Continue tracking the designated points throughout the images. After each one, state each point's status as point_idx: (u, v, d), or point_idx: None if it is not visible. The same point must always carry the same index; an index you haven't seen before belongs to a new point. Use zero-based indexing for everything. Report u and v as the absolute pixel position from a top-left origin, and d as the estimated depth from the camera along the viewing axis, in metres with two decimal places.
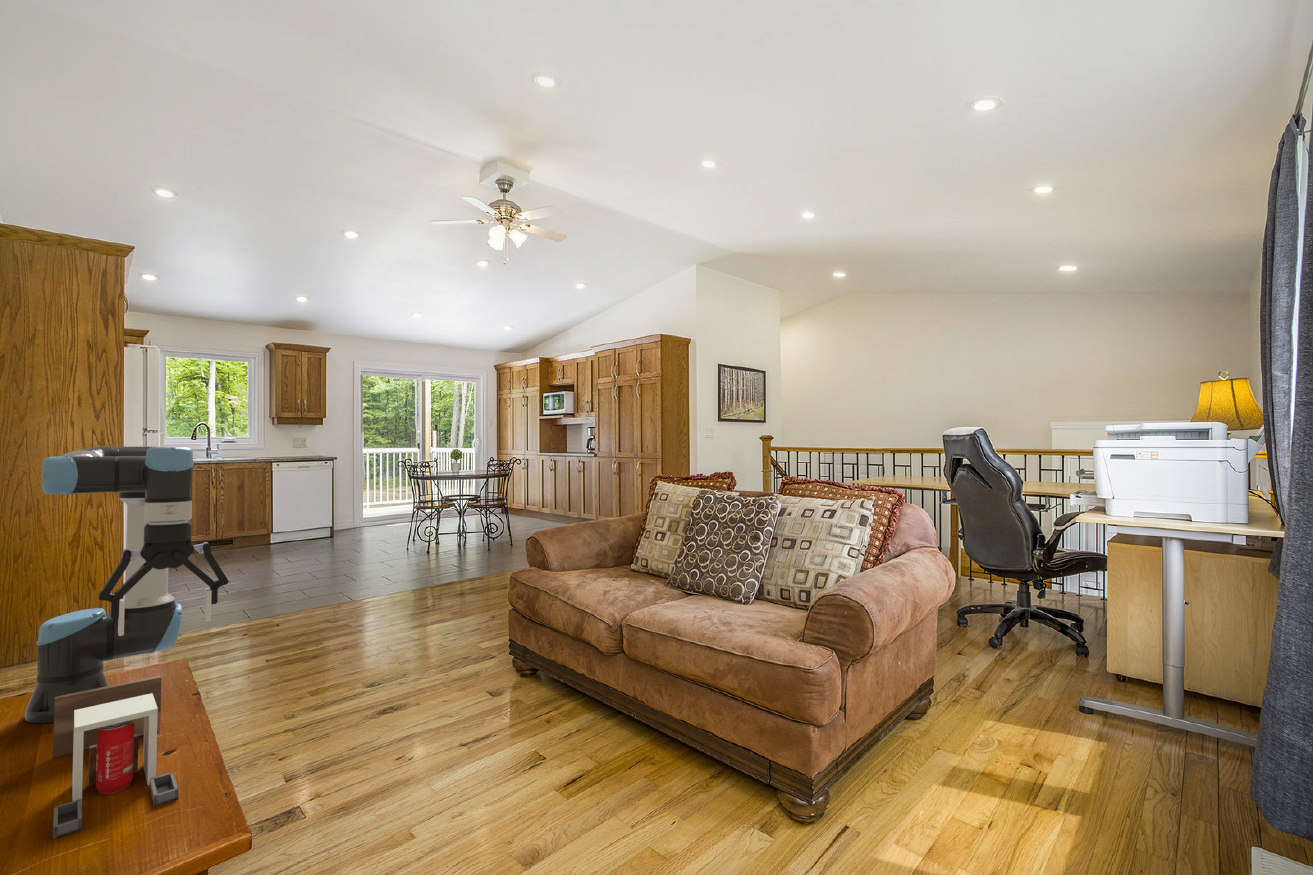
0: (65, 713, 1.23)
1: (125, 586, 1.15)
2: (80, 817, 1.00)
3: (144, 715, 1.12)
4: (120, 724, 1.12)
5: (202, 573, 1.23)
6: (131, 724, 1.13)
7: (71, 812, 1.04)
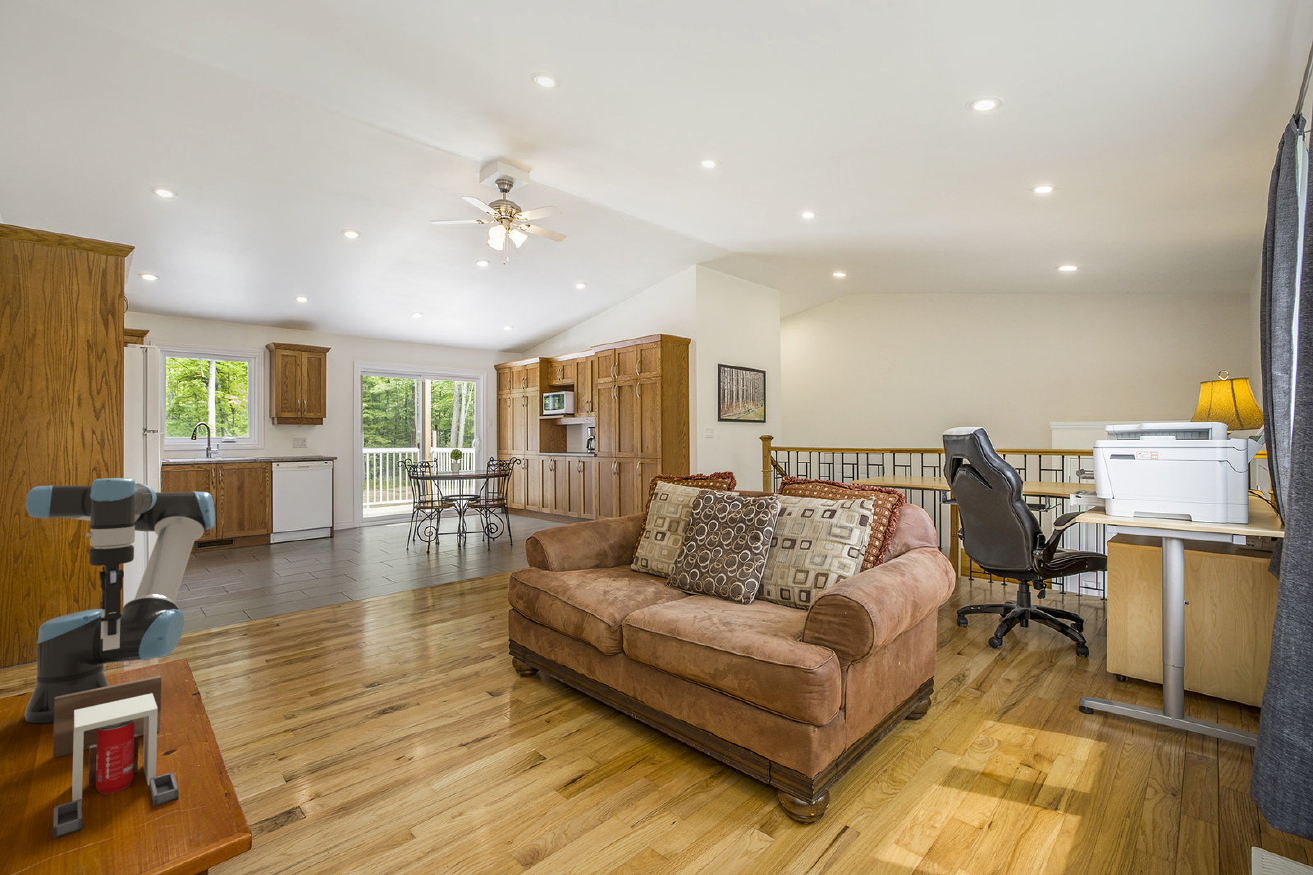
0: (65, 713, 1.23)
1: None
2: (80, 817, 1.00)
3: (144, 715, 1.12)
4: (120, 724, 1.12)
5: None
6: (131, 724, 1.13)
7: (71, 812, 1.04)
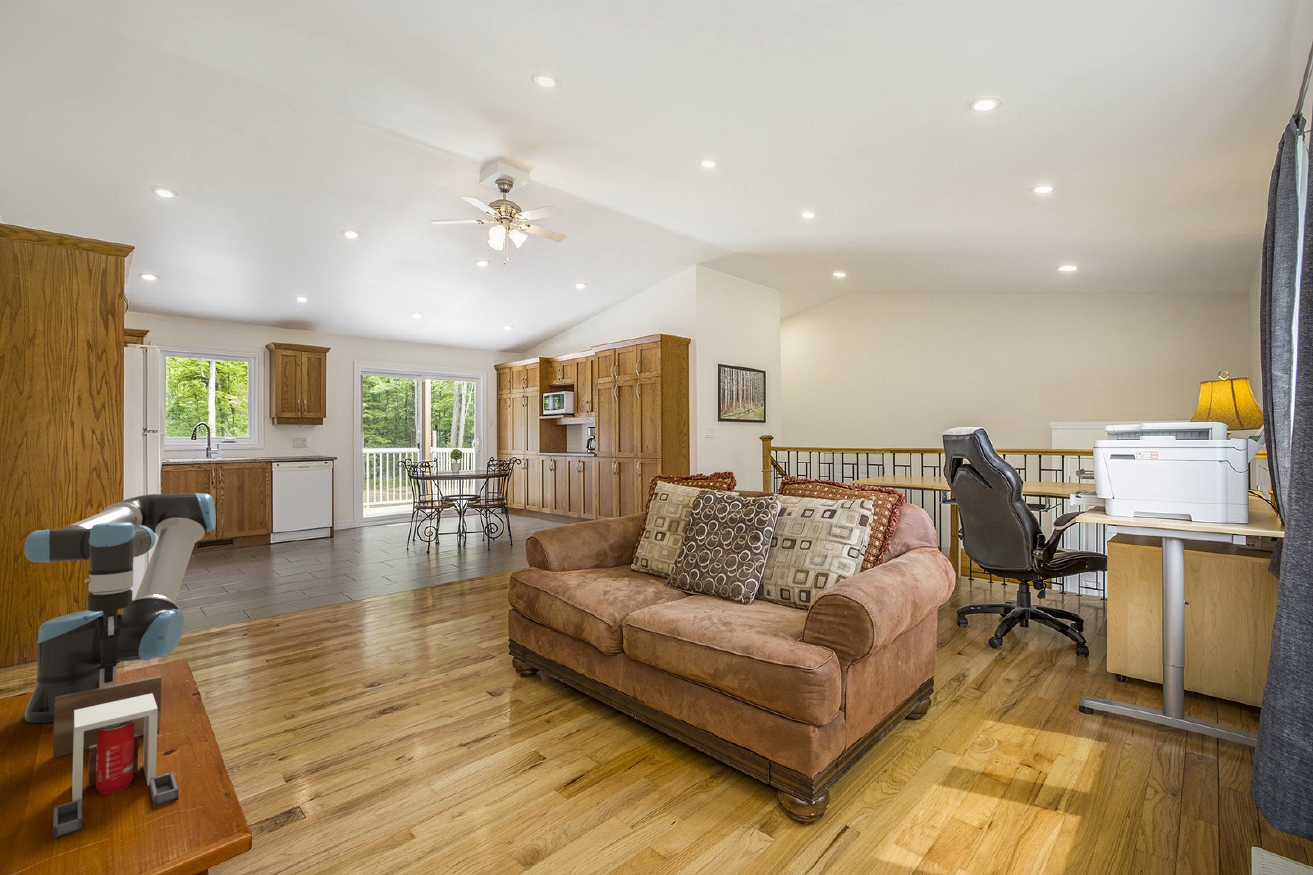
0: (65, 713, 1.23)
1: None
2: (80, 817, 1.00)
3: (144, 715, 1.12)
4: (120, 724, 1.12)
5: (102, 649, 1.32)
6: (131, 724, 1.13)
7: (71, 812, 1.04)
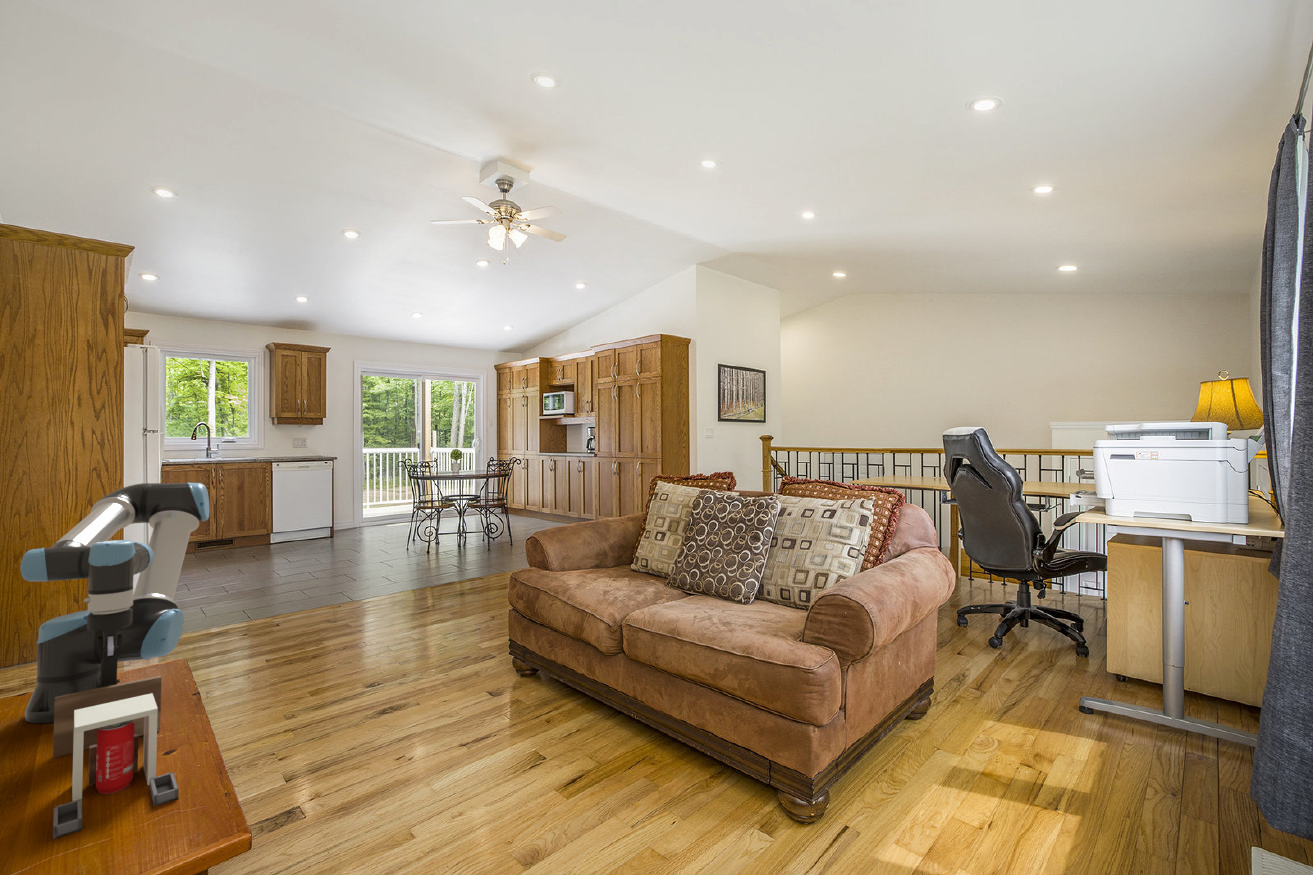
0: (65, 713, 1.23)
1: None
2: (80, 817, 1.00)
3: (144, 715, 1.12)
4: (120, 724, 1.12)
5: None
6: (131, 724, 1.13)
7: (71, 812, 1.04)
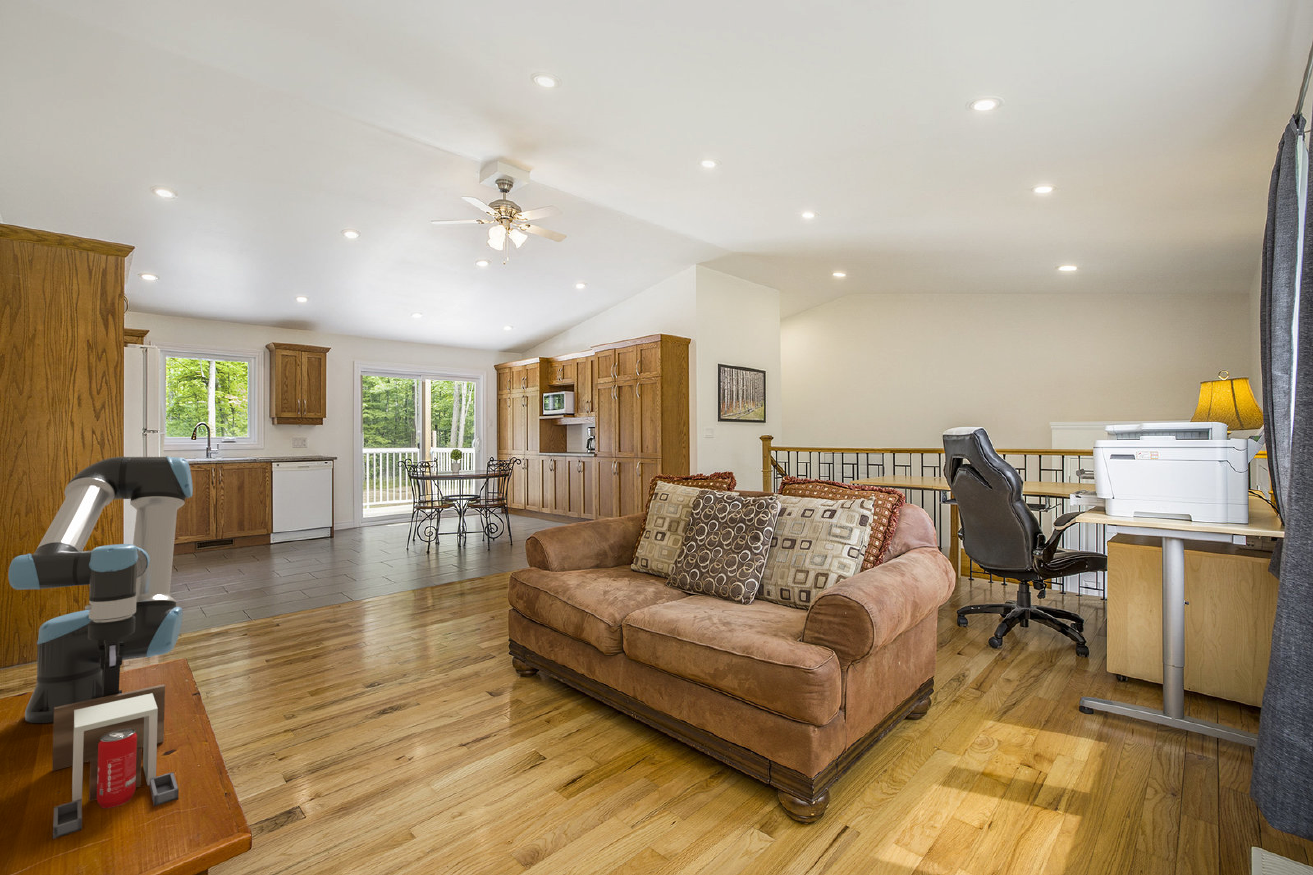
0: (65, 724, 1.18)
1: None
2: (80, 817, 1.00)
3: (144, 715, 1.12)
4: (122, 735, 1.08)
5: (103, 680, 1.25)
6: (133, 735, 1.08)
7: (71, 812, 1.04)
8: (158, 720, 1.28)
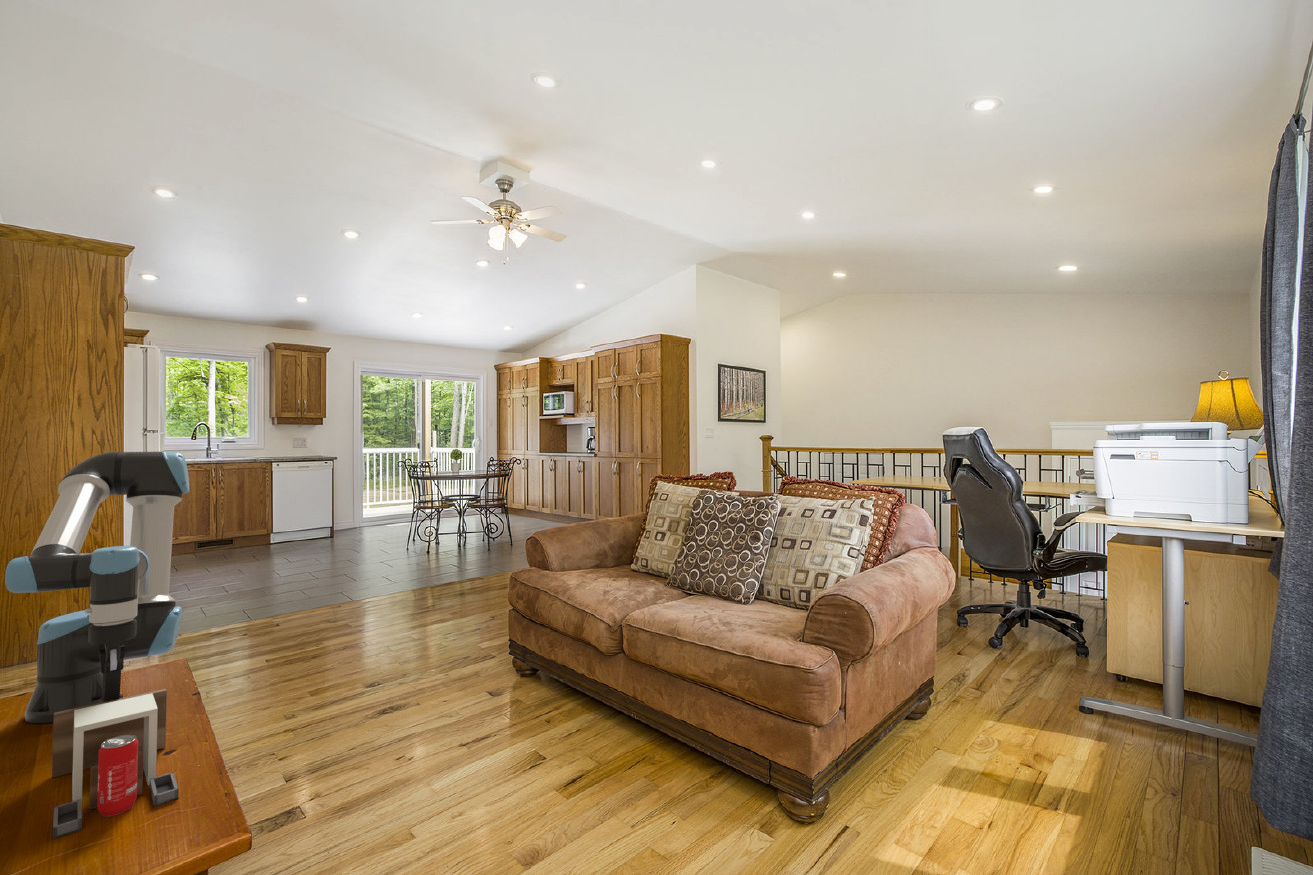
0: (65, 729, 1.16)
1: None
2: (80, 817, 1.00)
3: (144, 715, 1.12)
4: (123, 742, 1.06)
5: None
6: (135, 742, 1.06)
7: (71, 812, 1.04)
8: (160, 725, 1.26)
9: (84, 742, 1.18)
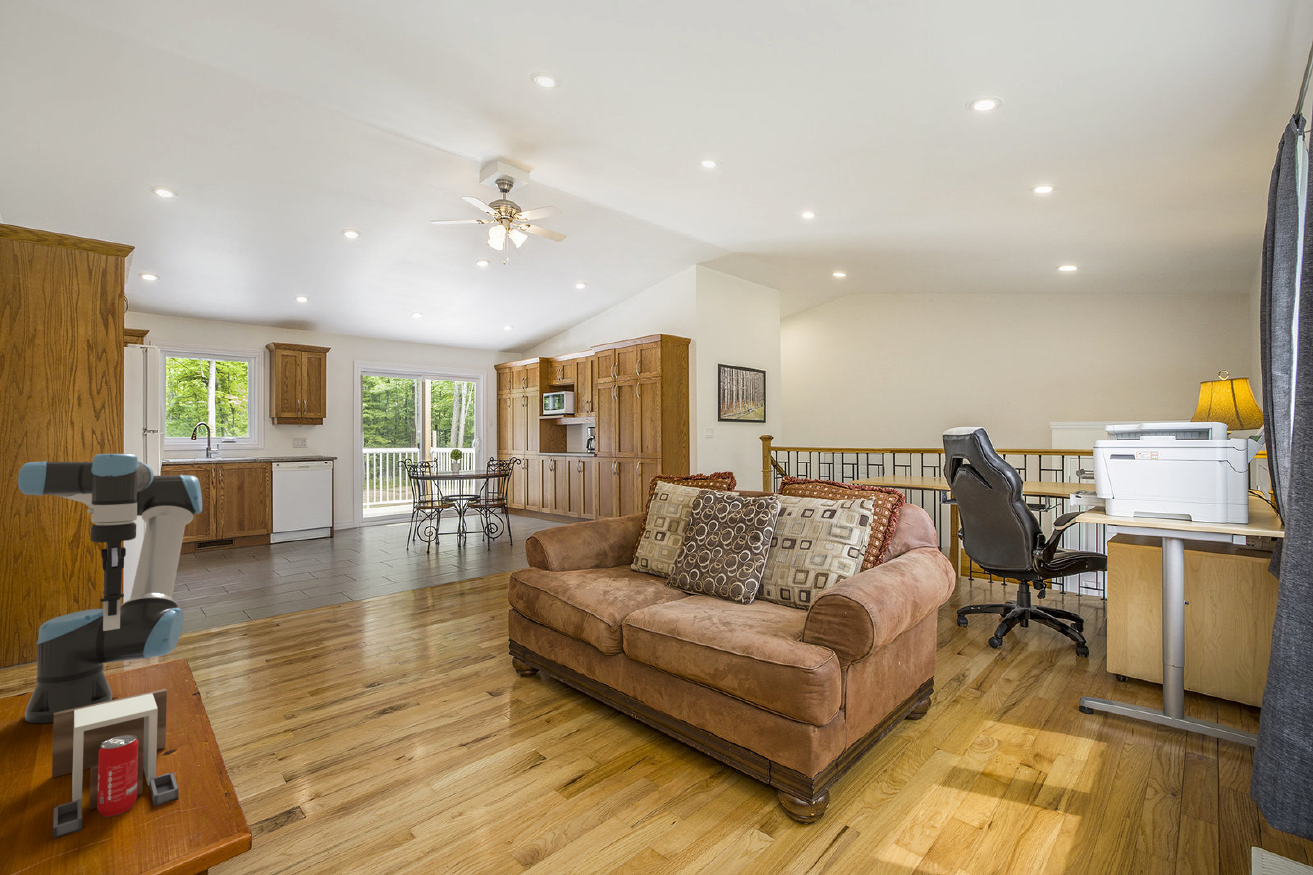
0: (65, 729, 1.16)
1: None
2: (80, 817, 1.00)
3: (144, 715, 1.12)
4: (123, 742, 1.06)
5: (105, 582, 1.30)
6: (135, 742, 1.06)
7: (71, 812, 1.04)
8: (160, 725, 1.26)
9: (84, 742, 1.18)
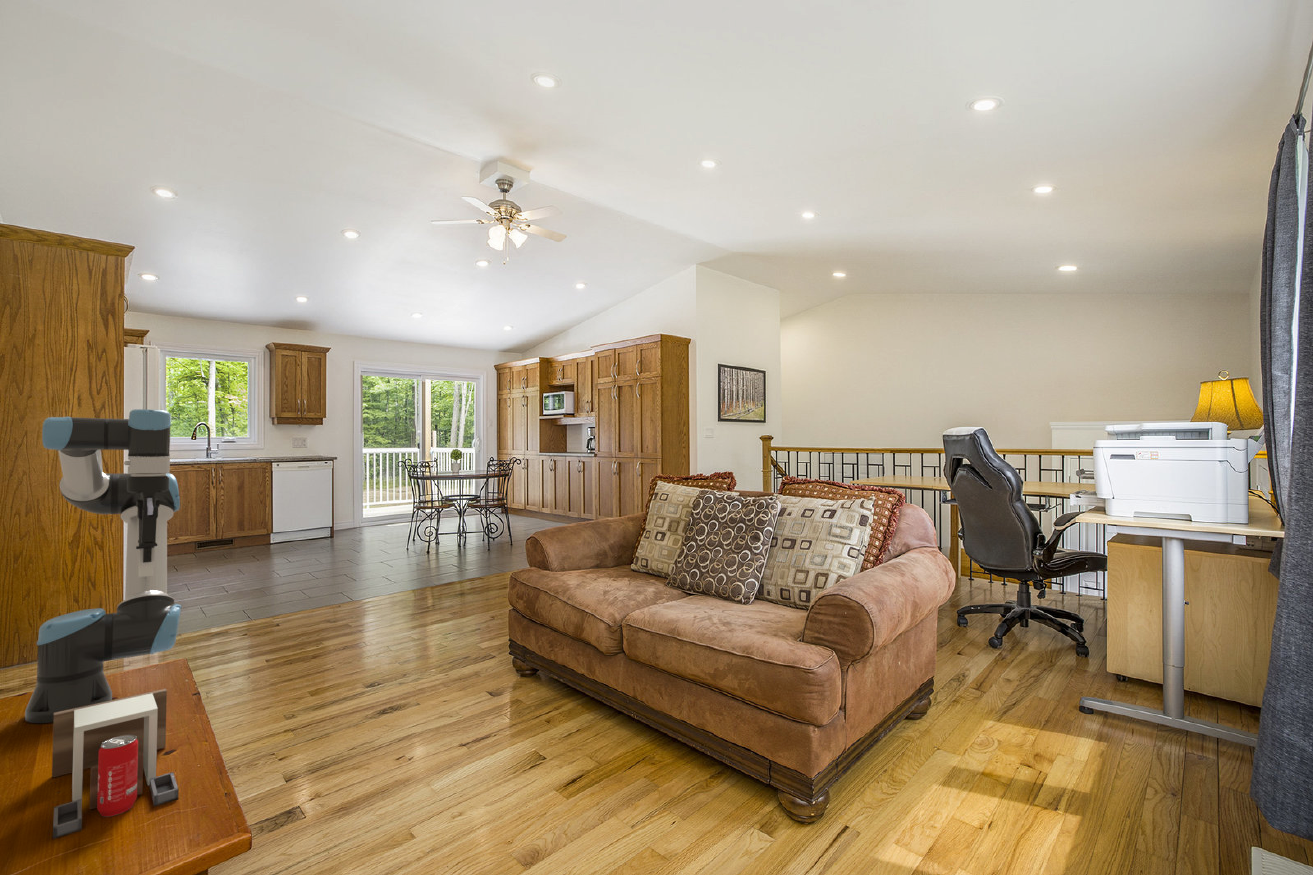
0: (65, 729, 1.16)
1: None
2: (80, 817, 1.00)
3: (144, 715, 1.12)
4: (123, 742, 1.06)
5: (141, 530, 1.37)
6: (135, 742, 1.06)
7: (71, 812, 1.04)
8: (160, 725, 1.26)
9: (84, 742, 1.18)
